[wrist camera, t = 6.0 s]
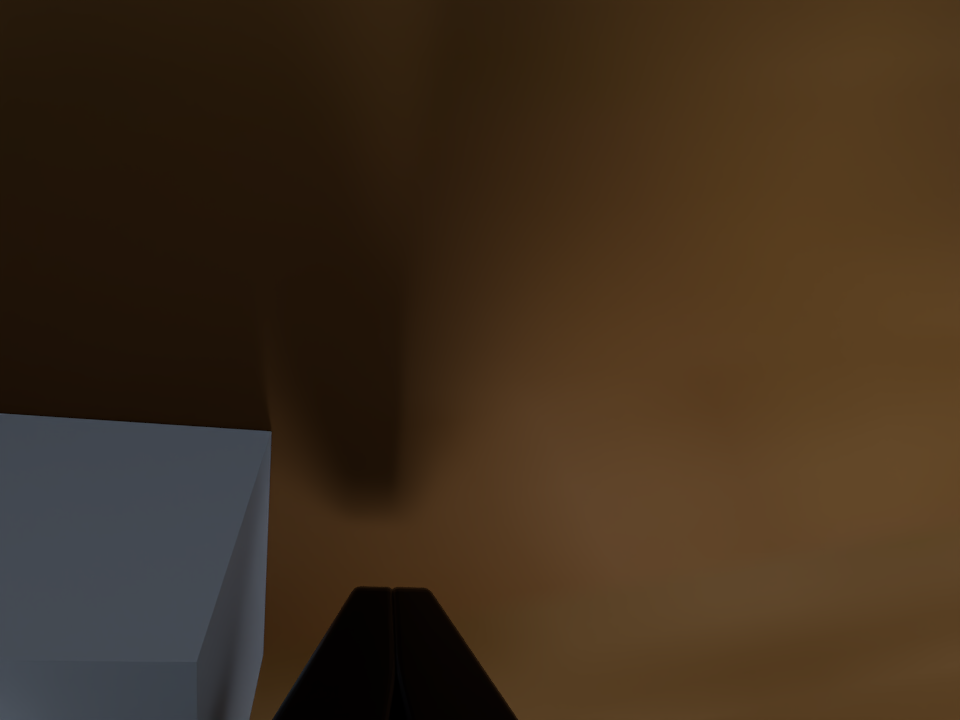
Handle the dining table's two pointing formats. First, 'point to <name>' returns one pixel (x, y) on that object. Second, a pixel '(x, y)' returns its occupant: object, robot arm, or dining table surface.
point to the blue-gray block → (131, 569)
